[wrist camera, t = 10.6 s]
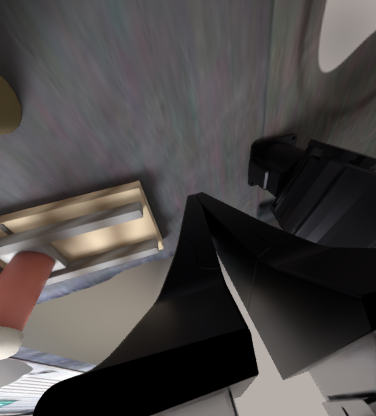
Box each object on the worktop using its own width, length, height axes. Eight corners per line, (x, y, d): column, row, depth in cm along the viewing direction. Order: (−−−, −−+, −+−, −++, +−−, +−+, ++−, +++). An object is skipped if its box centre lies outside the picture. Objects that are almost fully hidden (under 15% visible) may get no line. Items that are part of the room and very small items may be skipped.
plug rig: (139, 180, 21) (138, 206, 17) (162, 239, 29) (166, 269, 24) (-44, 226, 20) (-103, 270, 15) (31, 277, 27) (8, 317, 22)
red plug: (44, 238, 20) (-19, 334, 12) (69, 261, 24) (32, 349, 16) (1, 249, 20) (-92, 356, 12) (32, 271, 23) (-25, 367, 15)
